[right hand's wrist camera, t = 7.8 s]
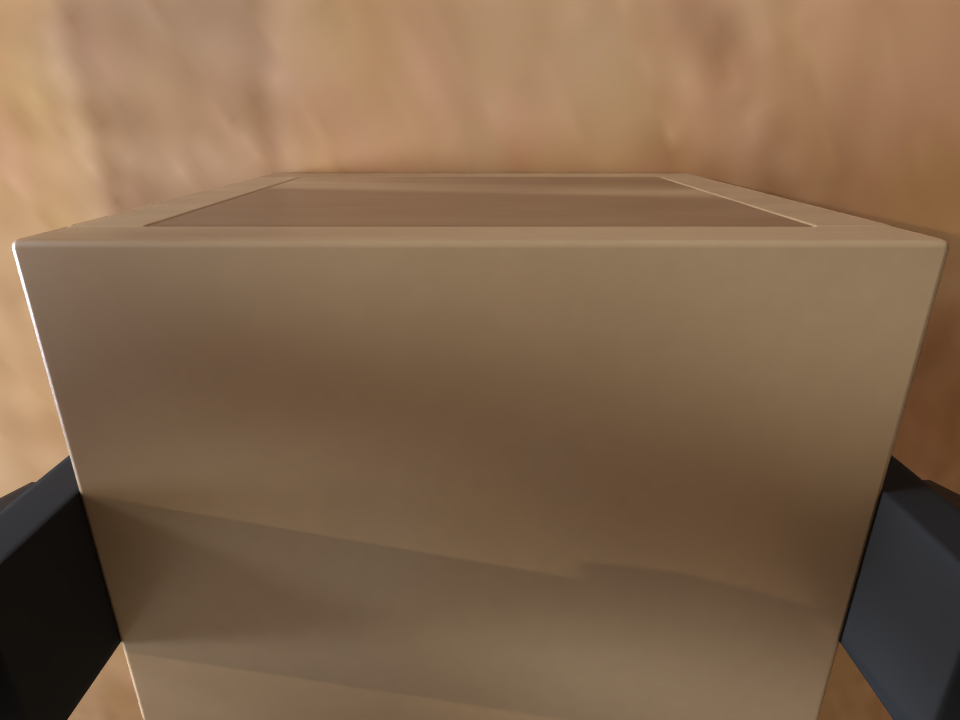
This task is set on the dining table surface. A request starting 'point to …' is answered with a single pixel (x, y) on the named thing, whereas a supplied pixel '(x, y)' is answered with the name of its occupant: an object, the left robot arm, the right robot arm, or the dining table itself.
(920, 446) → the dining table surface
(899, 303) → the cabinet
